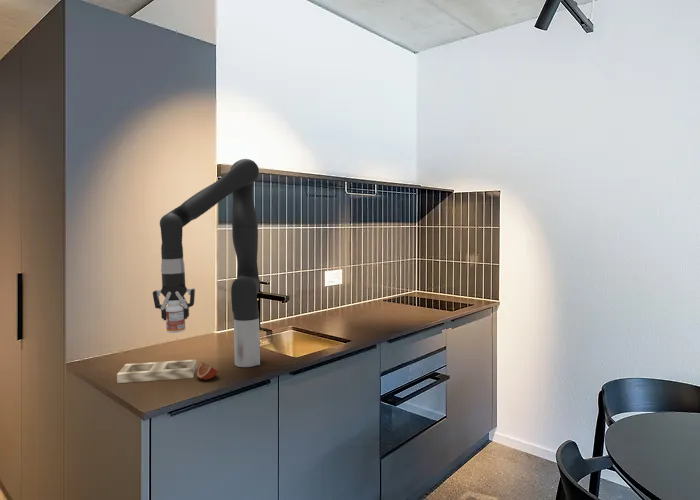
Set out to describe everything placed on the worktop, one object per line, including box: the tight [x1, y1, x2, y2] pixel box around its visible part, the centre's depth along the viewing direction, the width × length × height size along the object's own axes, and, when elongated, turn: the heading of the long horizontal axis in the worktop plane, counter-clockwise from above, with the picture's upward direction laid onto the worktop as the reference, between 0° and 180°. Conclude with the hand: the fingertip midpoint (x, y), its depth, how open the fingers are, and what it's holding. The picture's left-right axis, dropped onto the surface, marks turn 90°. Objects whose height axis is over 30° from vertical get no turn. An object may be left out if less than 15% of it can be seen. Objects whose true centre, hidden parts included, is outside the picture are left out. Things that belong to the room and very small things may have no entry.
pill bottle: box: [165, 299, 186, 334], centre depth 162 cm, size 6×6×11 cm
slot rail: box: [116, 359, 198, 384], centre depth 162 cm, size 24×11×3 cm, turn 102°
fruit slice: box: [196, 361, 219, 381], centre depth 159 cm, size 8×7×5 cm
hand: (175, 319), depth 162 cm, fingers closed on pill bottle, 6 cm apart
